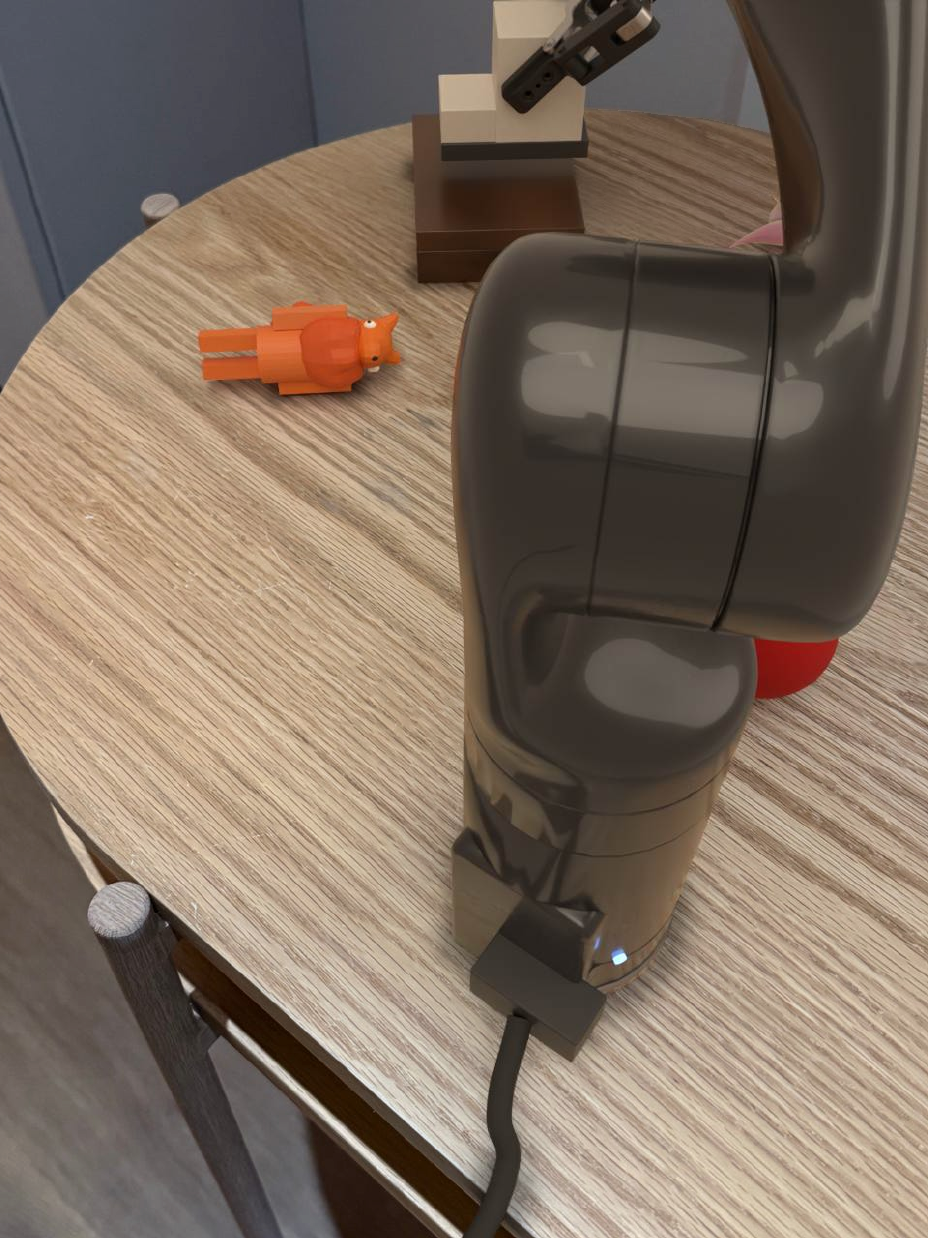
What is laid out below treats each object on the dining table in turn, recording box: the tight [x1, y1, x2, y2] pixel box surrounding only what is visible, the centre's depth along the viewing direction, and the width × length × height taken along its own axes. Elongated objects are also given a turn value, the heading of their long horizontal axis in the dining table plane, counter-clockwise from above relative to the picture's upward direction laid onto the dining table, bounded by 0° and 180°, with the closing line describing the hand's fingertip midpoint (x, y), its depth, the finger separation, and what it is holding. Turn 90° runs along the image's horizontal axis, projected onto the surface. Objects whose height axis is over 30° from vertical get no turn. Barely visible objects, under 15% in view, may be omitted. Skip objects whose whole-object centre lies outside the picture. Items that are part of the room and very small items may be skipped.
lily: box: [722, 193, 783, 248], centre depth 75 cm, size 12×12×10 cm
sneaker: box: [438, 0, 590, 161], centre depth 73 cm, size 10×5×8 cm, turn 92°
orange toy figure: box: [197, 300, 402, 396], centre depth 70 cm, size 5×8×12 cm
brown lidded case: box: [411, 113, 586, 284], centre depth 80 cm, size 11×14×4 cm
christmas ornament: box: [753, 637, 840, 700], centre depth 55 cm, size 7×7×10 cm
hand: (508, 79), depth 73 cm, fingers closed on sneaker, 4 cm apart
